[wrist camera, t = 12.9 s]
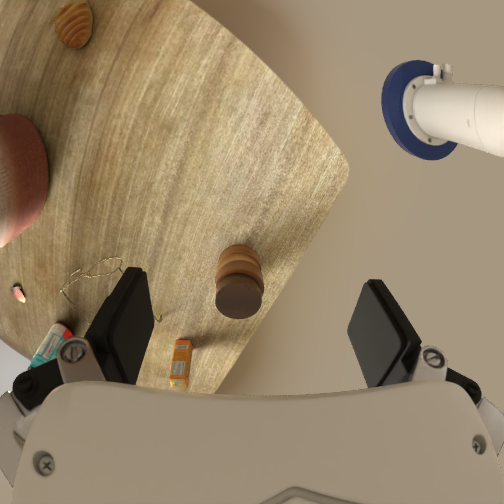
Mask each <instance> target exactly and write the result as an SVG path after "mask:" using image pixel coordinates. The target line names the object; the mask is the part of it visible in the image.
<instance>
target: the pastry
mask: <svg viewBox="0 0 504 504" xmlns="http://www.w3.org/2000/svg"><path fill="white" fill-rule="evenodd" d="M93 19H94V18H93V15H92V11H91V8H90V5H89V3H88V0H77V1H72V2H70V3H68V4H66V5H65V6H64V7H62V8H61V9H60V10H59V12H58V13H57V14H56V16H55V19H54V22H55V32H56V34H57V36H58V38H59V39H60V41H62V42H63V43H64V44H66V45H68V47H69V48H76V49H79V48H81V47H82V46H84V45H85V44H86V43H87V41H88V40H89V39H90V37H91V34H92V23H93Z"/></svg>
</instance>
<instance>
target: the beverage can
mask: <svg viewBox="0 0 504 504" xmlns="http://www.w3.org/2000/svg"><path fill="white" fill-rule="evenodd" d="M69 337H73V334H72V332H71V330H70V329H69V328H68V327H67V326H66V325H64V324H62V323H55V324H54V325H53V327H52V328H51V330H50V331H49V333H48V334H47V336H46V338H45V339H44V341H43V342H42V344H41V346H40V347H39V349H38V351H37V352H36V354H35V356H34V357H33V359H32V361H31V363H30V365H29V367H28V370H30V369H32V368H34V367H36V366H39V365H41V364H43V363H46V362H48V361H50V360H52V359H55V358H57V357H56V351H57V348H58V346H59V345H60V343H61V342H63V341H64V340H65V339H67V338H69Z"/></svg>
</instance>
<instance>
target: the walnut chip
mask: <svg viewBox="0 0 504 504" xmlns="http://www.w3.org/2000/svg"><path fill="white" fill-rule="evenodd" d="M261 303H262V299H261V289H260V285H259V283H258V282H257V280H256V279H255V278H253V277H252V276H250V275H248V274H245V273H232V274H229V275H226V276H225V277H223V278H222V279H221V280H220V281H219V283H218V285H217V288H216V296H215V304H216V307H217V309H218V310H219V311H220V312H221V313H222V314H223V315H225V316H226V317H229V318H233V319H245V318H248V317H251V316H253V315H254V314H255V313H256V312H257V311H258V310H259V309H260V307H261Z"/></svg>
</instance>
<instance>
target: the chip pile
mask: <svg viewBox="0 0 504 504" xmlns="http://www.w3.org/2000/svg"><path fill="white" fill-rule="evenodd" d="M232 273H245V274H248V275H250V276H252V277H253V278H255V279H256V280H257V282H258V283H259V285H260V289H261V297H262V296H263V293H264V282H263V275H262V272H261V263H260V258H259V256H258V254H257V253H256V251H254V250H253V249H252V248H250V247H248V246H245V245H234V246H231V247H229V248H227V249H225V250H224V251H223V252H222V254H221V255H220V257H219V262H218V266H217V269H216V276H215V284H216V287H215V289H216V288H217V285H218V283H219V281H220V280H221V279H222V278H223V277H225V276H226V275H229V274H232Z"/></svg>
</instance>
